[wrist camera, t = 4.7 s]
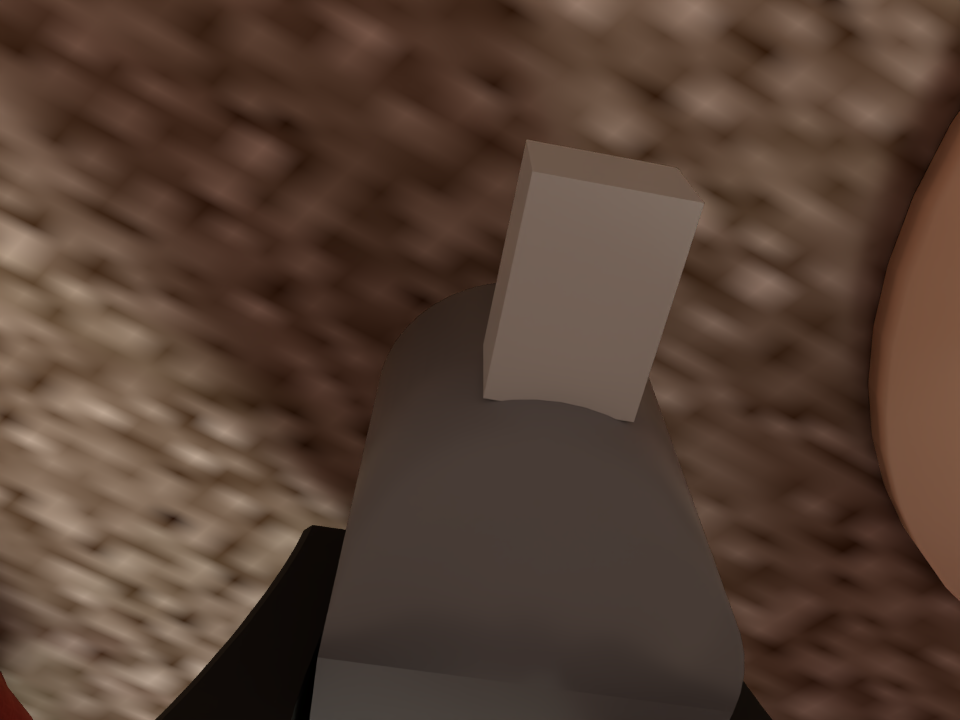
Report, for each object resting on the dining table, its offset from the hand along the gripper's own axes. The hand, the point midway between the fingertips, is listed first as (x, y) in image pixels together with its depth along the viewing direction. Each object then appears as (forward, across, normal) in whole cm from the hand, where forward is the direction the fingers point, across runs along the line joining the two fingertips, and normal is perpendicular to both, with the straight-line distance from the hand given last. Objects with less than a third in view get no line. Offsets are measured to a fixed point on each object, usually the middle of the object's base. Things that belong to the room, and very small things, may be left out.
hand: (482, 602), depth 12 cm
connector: (+1, 0, -1) cm, 2 cm away
